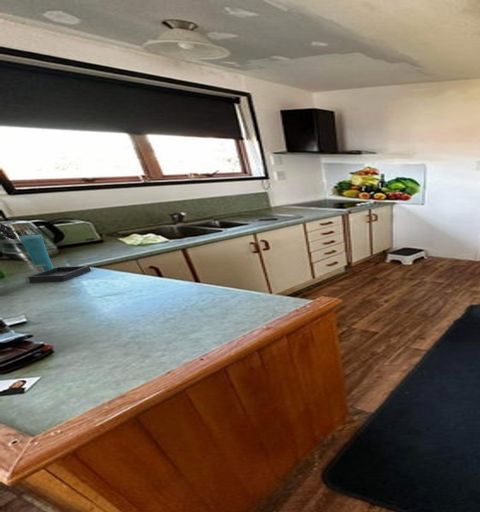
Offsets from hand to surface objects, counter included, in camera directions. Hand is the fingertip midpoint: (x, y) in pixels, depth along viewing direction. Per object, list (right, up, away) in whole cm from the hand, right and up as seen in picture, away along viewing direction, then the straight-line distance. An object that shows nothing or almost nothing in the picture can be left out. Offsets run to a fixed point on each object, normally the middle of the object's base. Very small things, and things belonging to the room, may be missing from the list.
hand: (1, 238), depth 114 cm
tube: (-2, -16, +18) cm, 24 cm away
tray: (+9, -17, +14) cm, 24 cm away
